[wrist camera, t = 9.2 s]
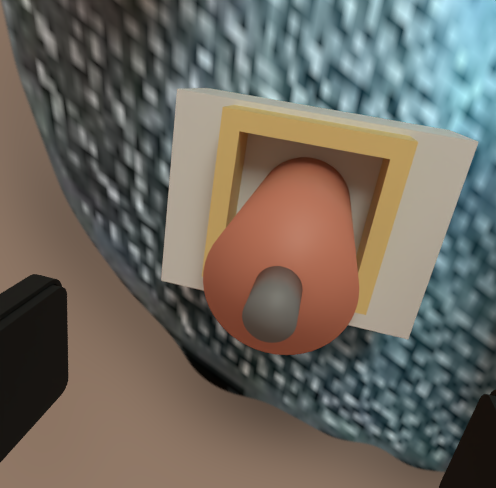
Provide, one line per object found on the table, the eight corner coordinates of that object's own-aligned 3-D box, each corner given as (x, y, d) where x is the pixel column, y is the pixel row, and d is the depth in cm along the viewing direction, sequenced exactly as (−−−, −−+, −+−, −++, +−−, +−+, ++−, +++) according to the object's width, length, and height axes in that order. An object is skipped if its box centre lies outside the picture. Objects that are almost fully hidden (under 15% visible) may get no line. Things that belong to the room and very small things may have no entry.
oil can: (360, 166, 23) (385, 257, 11) (338, 254, 25) (338, 411, 13) (267, 149, 23) (192, 215, 11) (252, 235, 25) (175, 368, 13)
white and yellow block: (449, 130, 27) (495, 148, 19) (395, 294, 31) (414, 364, 23) (208, 88, 29) (159, 89, 21) (190, 248, 33) (145, 298, 25)
